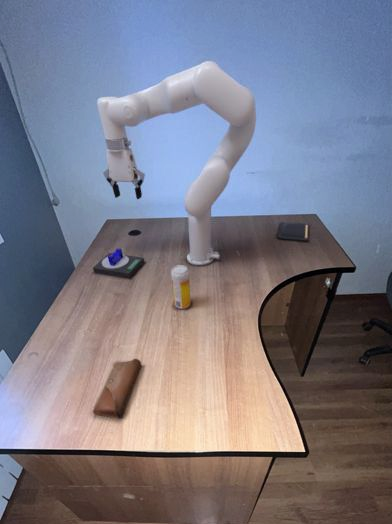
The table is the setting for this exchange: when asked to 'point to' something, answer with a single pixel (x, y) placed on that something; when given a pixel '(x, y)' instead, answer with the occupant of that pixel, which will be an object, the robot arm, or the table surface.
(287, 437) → the table surface
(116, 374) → the sunglasses case
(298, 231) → the black flat rectangular slab
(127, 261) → the scale
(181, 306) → the pill bottle
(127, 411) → the table surface
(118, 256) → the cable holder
